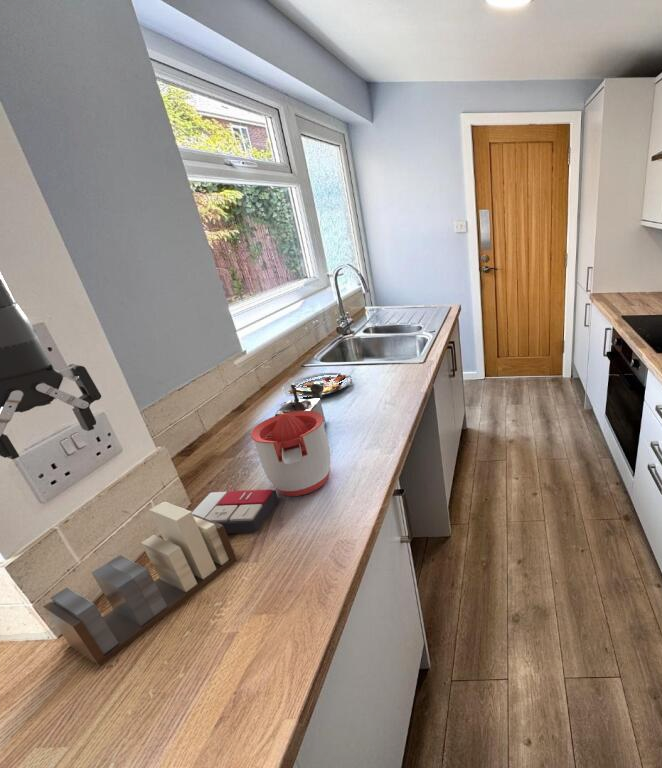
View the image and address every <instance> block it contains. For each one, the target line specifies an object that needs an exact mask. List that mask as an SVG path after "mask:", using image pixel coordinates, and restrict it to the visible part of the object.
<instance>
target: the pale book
mask: <svg viewBox="0 0 662 768" xmlns="http://www.w3.org/2000/svg"><path fill="white" fill-rule="evenodd" d="M149 512H150V514H151V517H152V518H153V521H154V523H155V525H156V527H157V529H158V531H159V534H160V535H161V537H162V539H163V540H166V541H168V542H170V543H172V544H175V545H177V546H179V547H180V548H181V550H182V552H183V554H184V556H185V558H186V560H187V563H188V565H189V567H190V569H191V571H192V573H193V575H195V576H197V577H199V578H202V579H204V578H206V577H207V576H208V575H210V574H211V573H212V572H214V571H215V570H216V567H215V565H214V562H213V560H212V558H211V556H210V553H209V551H208V549H207V546H206V544H205V542H204V539H203V537H202V535H201V533H200V530H199V528H198V526H197V523H196V521H195V519H194V517H193V514H192V511H191V510H188V509H186V508H183V507H180V506H178V505H175V504H172V503H170V502H167V501H162V502H161V503H158V504H157V505H155V506H152V508H150V509H149Z"/></svg>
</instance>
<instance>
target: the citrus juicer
mask: <svg viewBox="0 0 662 768" xmlns="http://www.w3.org/2000/svg"><path fill="white" fill-rule="evenodd" d="M325 428H326V427H325ZM325 428H324V424H323V416H322V415H321V414H320V413H318V412H315V411H293V412H288V413H284V414H280V415H277V416H275V415H274V416H272V417H269V418H267V419H264V420H263V421H261V422H259V423H258V424H257V425H255V426H254V427H253V428H252V430H251V432H250V438H251V439H252V440H253V444H254V446H255V449H256V452H257V454H258V455H257V456H258V458H259V461H260V464H261V467H262V469H263V472H264V474H265V475H266V477H267V479H268V481H269V482H270V483H271V485H272V486H273V488H274V490H276V491H278V493H280V494H281V495H283V496H285V497H300V496H303V495H307V494H310V493H313V492H315V491H316V490H318V489H320V488H321V487H322V486H324V485H325V484H326V483H327V482H328V479H329V477H330V472H331V449H330V445H329V441H328V437H327V432H326V429H325Z"/></svg>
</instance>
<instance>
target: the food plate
mask: <svg viewBox="0 0 662 768" xmlns="http://www.w3.org/2000/svg"><path fill="white" fill-rule="evenodd" d="M324 375H338V376H337V377H331V376H329V377H322V378H320V379H319V378H318V379H315V380H311V381H308V382H305V383H303V384H300V385H302V386H300V385H299V386H298V387H296V389H298V390H301V389H300V388H308V389H307V390H308V391H311V390H309V389H310V385H311V384H312V383H315V382H319V383H322V384H323V386H324V390H323V391H322V392H321V395H322V396H326V395H330V394H333V393H337V392H339V391H341V390H343V389H344V388H346V387H347V386H349V385H350V384H352V382H353V379H351V378H352V376H351V375H348V374H346V373H342V372H320V373H314V374H309V375H305V376H301V377H298V378H296V379H293V380H290V381H289V382H287V383H286V384H285V385H283V386H282V388H281V393H282V394H283V395H285V396H289V397H294V394H293V391H291V389H292V388H291V385H292V384H295V385H298V384H299V383H301V382H303V381H307V380H306V379H308V380H309V379H310V378H311V379H312V378H314V377H318V376H324ZM345 378H349V380H348V379H347V382H345V383H346V384H345V383H344V385H343V386H341V385H342V383H343V382H341V383H339V384H334V385H333V382H332V381H331V382H332V383H331V385H332V386H330V387H329V386H325V385H329V384H328V383H327V382H330V381H329V380H331V379H334V380H333V381H335V382H334V383H338V382H340V381H342V380H344V379H345ZM324 381H326V383H327V384H326V383H325V384H324V383H323V382H324ZM306 383H307V384H306ZM303 386H307V387H303ZM289 392H290V393H289ZM296 393H297V397H298V398H300V397H304V398H305V397H312V394H306V393H299V392H296ZM322 393H324V394H322ZM299 394H302V395H299Z"/></svg>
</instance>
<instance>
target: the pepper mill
mask: <svg viewBox="0 0 662 768" xmlns="http://www.w3.org/2000/svg"><path fill="white" fill-rule="evenodd" d="M295 387H296V385H295V384H292V385H291V388H292V389H291V391H293V394H294V396H293V397H294V399H291V400H290V399H289V400H287V401H286V402H285V403H284V404H283V405H281V407H280V408H279V409H278V410H277V411H276V412H275V413H274V416H277V415H280V414H284V413H288V412H293V411H315V412H318V413H320V414H321V415H322V416H323V424H324V428H326V424H327V422H326V418H325V417H326V416H325V414H324V409H323V405H322V400H321V398H322V397H323V395H321V392H322V391H323V390H324V386H323V384H322V383H319V382H315V383H312V384H311V385H310V390H311V391H305V390H298V389H296V388H295ZM296 392H299V393H306V394H312V396H311V398H307V399H306V398H299V396H297V393H296ZM324 422H325V423H324Z"/></svg>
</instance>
